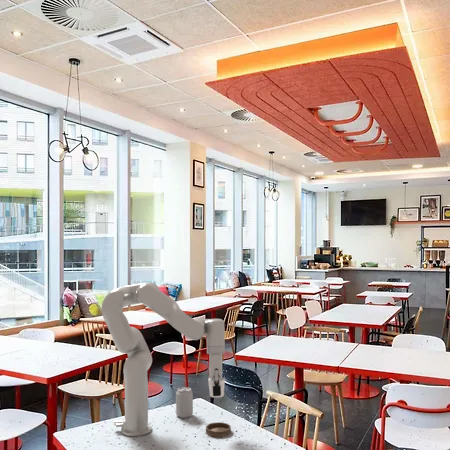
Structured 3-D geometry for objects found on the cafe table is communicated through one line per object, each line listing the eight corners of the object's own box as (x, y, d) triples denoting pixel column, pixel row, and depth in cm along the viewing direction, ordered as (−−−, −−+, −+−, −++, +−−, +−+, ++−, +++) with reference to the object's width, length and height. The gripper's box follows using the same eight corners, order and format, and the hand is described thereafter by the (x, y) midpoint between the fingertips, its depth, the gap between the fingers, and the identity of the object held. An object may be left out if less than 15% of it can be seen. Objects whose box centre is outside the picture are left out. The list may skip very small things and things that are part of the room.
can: (173, 417, 217) (173, 390, 218) (179, 412, 224) (179, 385, 225) (189, 419, 215) (189, 391, 216) (194, 413, 223) (194, 387, 223)
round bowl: (205, 437, 195) (205, 432, 195) (206, 427, 205) (206, 422, 205) (231, 436, 195) (231, 431, 195) (230, 427, 206) (230, 422, 206)
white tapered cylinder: (224, 392, 204) (224, 375, 205) (225, 397, 197) (225, 380, 198) (208, 393, 204) (208, 376, 204) (208, 398, 197) (208, 380, 198)
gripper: (207, 345, 210) (207, 387, 209) (206, 354, 193) (207, 400, 192) (224, 344, 210) (225, 386, 210) (225, 353, 193) (226, 399, 192)
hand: (216, 392), depth 201 cm, fingers closed on white tapered cylinder, 6 cm apart
